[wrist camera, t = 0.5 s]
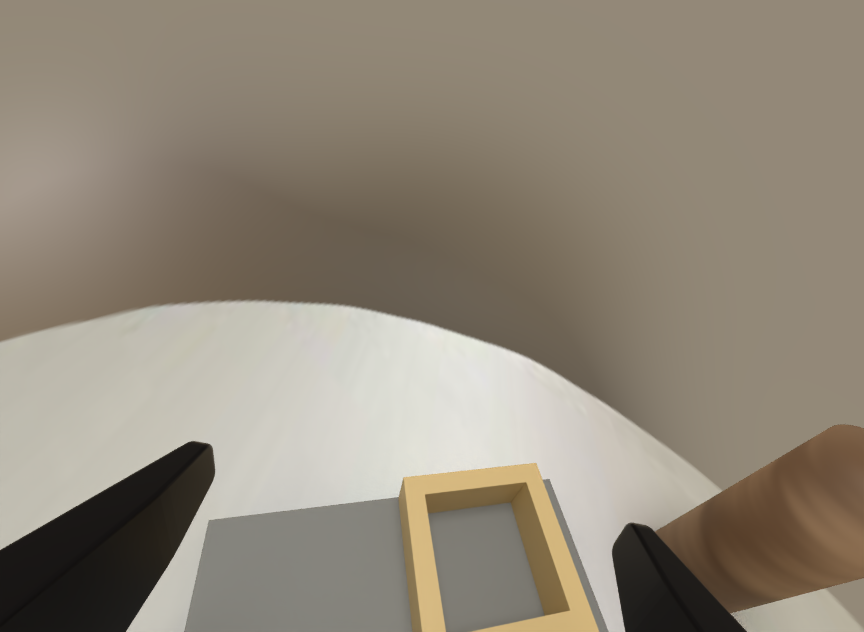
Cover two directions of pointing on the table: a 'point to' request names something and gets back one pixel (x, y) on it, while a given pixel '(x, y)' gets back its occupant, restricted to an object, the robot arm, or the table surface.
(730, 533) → the walnut post
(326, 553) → the bracket board
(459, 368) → the table surface
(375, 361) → the table surface
